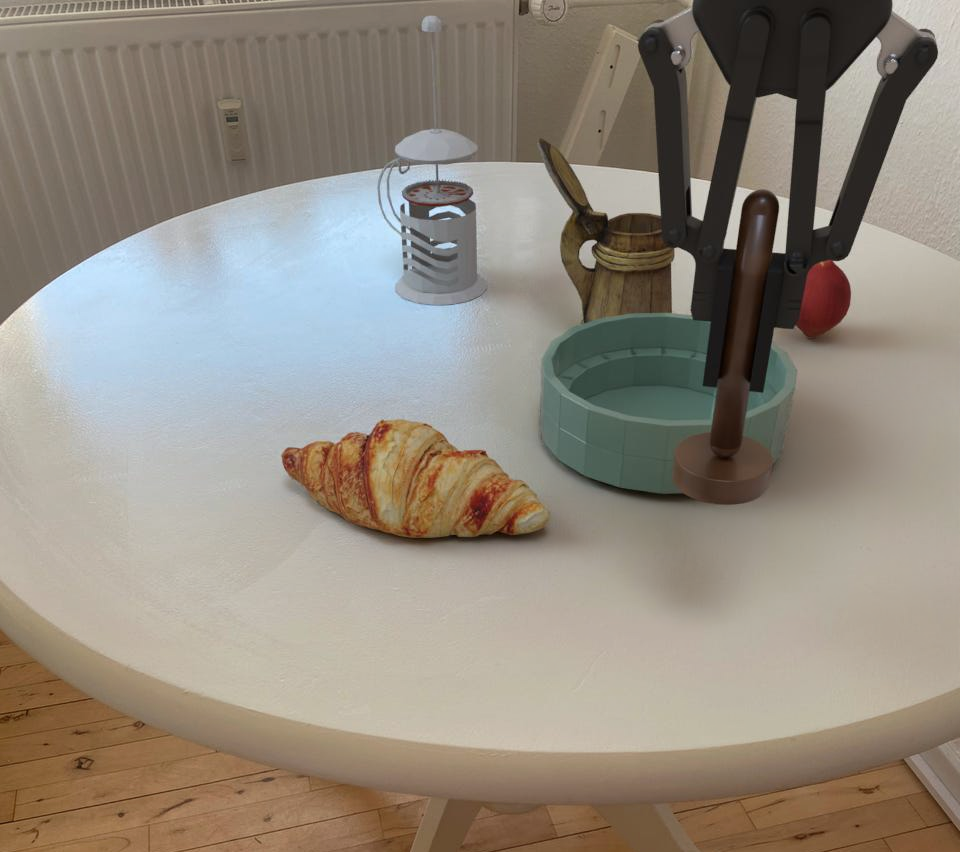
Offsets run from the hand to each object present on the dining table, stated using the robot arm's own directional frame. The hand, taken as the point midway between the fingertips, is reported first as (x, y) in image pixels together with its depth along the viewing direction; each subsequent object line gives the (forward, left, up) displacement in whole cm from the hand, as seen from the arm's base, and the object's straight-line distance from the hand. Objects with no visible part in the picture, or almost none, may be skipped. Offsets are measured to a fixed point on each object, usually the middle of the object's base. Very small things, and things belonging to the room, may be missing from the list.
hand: (735, 377), depth 58 cm
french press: (+34, -49, -17) cm, 62 cm away
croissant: (+22, -7, -17) cm, 29 cm away
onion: (-5, -46, -17) cm, 49 cm away
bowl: (+6, -23, -17) cm, 29 cm away
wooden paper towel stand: (0, 0, -6) cm, 6 cm away
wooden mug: (+14, -40, -17) cm, 46 cm away
